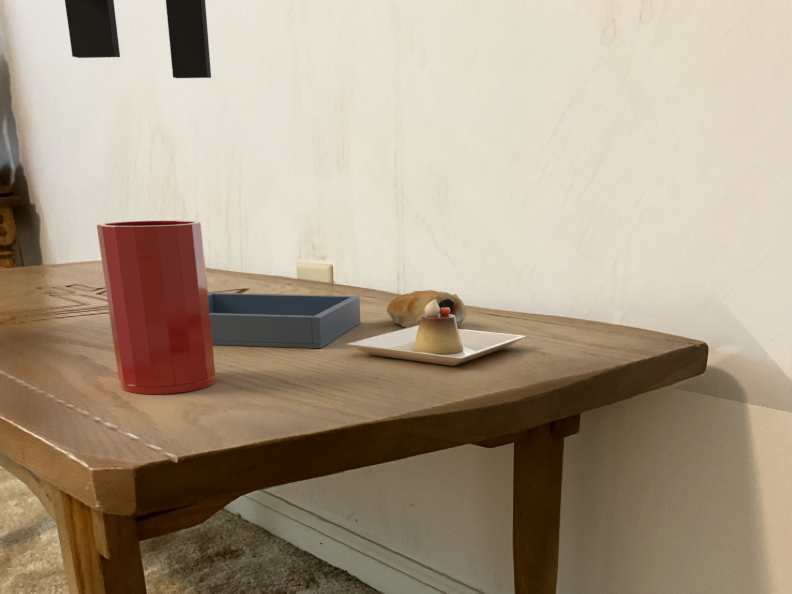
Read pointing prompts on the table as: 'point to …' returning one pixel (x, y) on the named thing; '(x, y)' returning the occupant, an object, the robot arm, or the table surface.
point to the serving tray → (281, 319)
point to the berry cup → (158, 305)
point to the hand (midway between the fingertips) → (149, 69)
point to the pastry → (423, 306)
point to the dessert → (436, 340)
